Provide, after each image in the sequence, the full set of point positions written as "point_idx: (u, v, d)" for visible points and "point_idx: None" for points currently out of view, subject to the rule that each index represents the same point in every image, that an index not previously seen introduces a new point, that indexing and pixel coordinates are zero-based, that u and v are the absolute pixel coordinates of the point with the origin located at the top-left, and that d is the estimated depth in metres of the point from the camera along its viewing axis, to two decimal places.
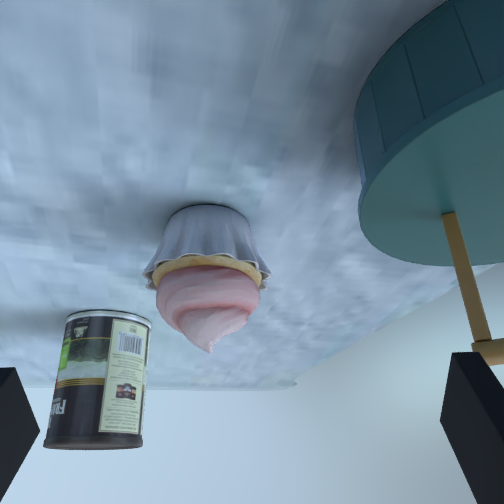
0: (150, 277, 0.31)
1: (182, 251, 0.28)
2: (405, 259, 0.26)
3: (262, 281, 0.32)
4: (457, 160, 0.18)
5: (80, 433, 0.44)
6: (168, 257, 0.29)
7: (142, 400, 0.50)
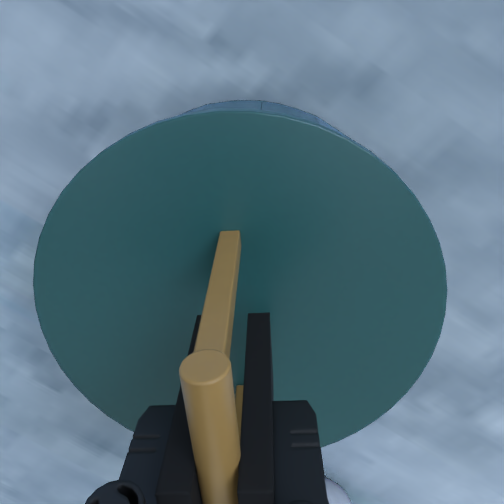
0: None
1: None
2: (337, 438, 0.19)
3: None
4: (135, 377, 0.18)
5: None
6: None
7: None
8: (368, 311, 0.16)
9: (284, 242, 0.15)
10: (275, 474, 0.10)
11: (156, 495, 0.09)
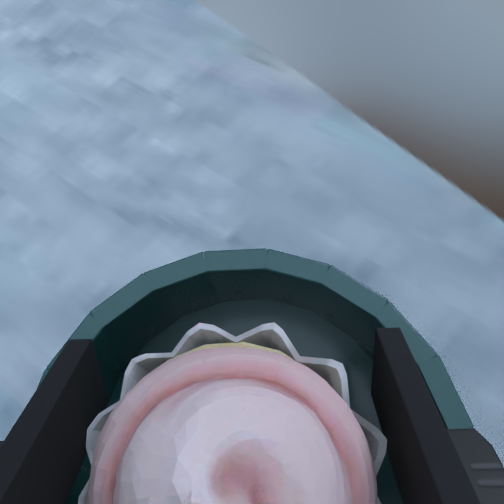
0: None
1: (94, 446, 0.14)
2: None
3: (297, 357, 0.14)
4: None
5: None
6: (88, 486, 0.13)
7: None
8: None
9: None
10: None
11: None
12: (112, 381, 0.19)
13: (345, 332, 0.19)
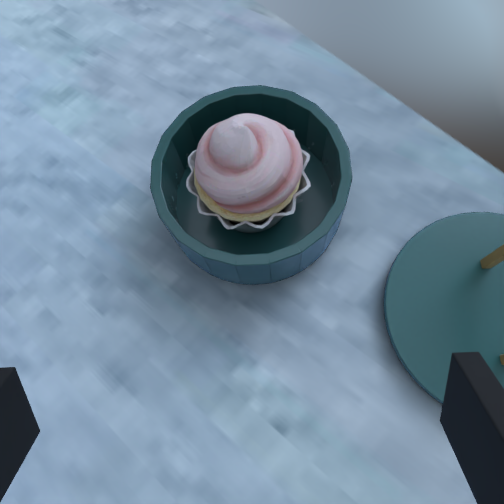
0: (213, 213, 0.31)
1: None
2: None
3: None
4: (437, 349, 0.31)
5: None
6: None
7: None
8: None
9: None
10: None
11: None
12: (183, 166, 0.37)
13: (302, 144, 0.38)
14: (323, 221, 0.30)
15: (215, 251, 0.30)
